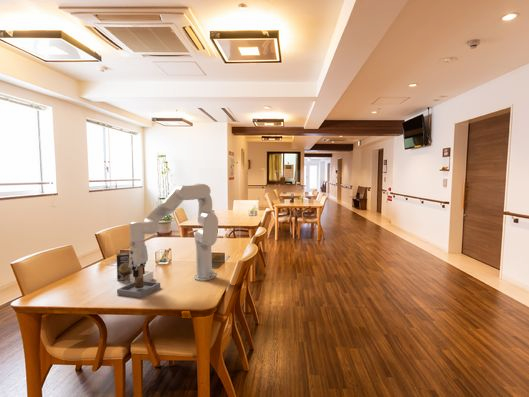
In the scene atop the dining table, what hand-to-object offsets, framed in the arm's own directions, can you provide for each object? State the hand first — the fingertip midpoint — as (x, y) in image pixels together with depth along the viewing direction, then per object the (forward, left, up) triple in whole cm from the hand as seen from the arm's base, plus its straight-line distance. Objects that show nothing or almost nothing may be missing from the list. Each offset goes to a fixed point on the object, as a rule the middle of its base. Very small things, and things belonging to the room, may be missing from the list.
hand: (138, 275), depth 171 cm
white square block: (+11, -15, -9) cm, 21 cm away
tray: (0, 0, -9) cm, 9 cm away
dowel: (0, 0, -7) cm, 7 cm away
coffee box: (+24, -15, -10) cm, 30 cm away
